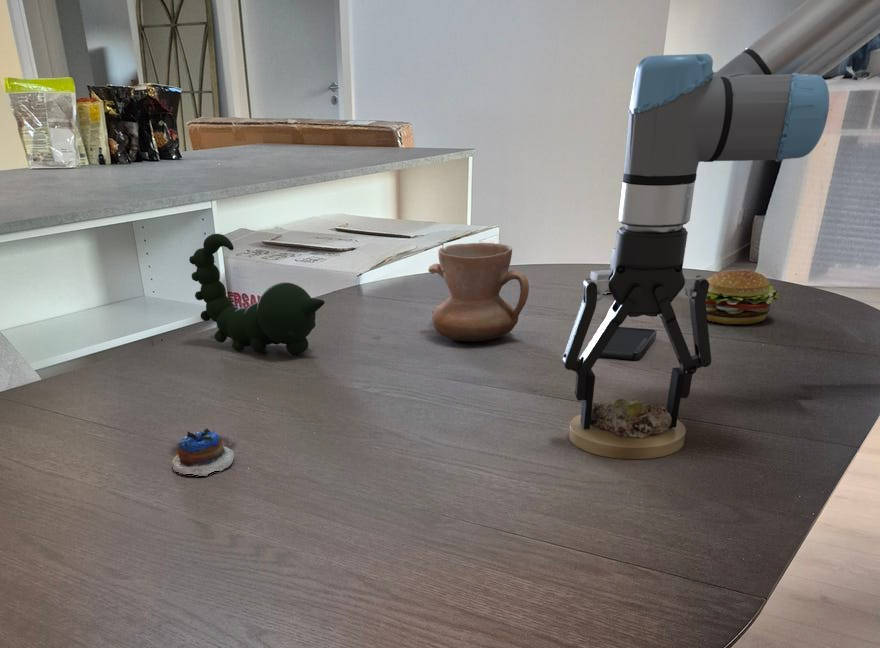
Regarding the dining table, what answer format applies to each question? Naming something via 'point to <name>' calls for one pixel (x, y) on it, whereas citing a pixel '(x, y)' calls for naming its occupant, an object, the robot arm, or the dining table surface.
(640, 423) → the mineral rock
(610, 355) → the phone
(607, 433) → the wood disc
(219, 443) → the dessert
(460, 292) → the ceramic jug
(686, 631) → the dining table surface
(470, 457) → the dining table surface
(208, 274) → the toy figurine
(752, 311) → the food
